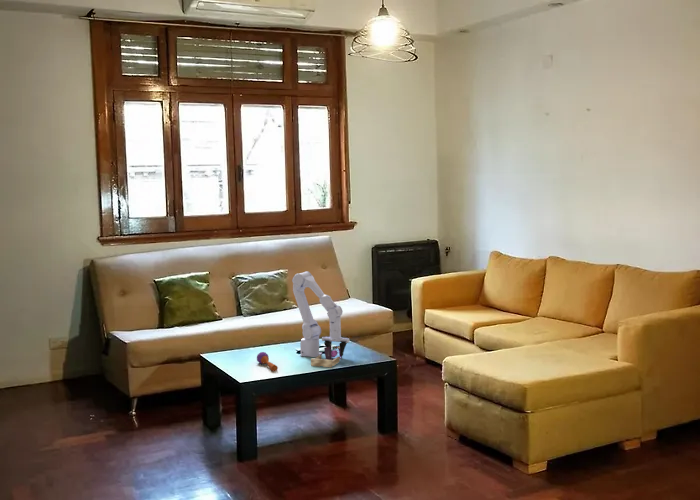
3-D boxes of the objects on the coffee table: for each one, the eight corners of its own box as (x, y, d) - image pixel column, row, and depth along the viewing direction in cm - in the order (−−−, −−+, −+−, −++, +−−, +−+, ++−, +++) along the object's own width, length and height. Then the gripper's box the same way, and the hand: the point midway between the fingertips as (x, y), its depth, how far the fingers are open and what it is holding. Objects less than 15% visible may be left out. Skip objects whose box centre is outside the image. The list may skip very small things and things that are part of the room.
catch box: (311, 365, 382) (310, 358, 382) (319, 359, 393) (319, 353, 392) (331, 367, 378) (331, 360, 378) (339, 361, 389) (339, 354, 388)
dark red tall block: (324, 347, 391) (341, 345, 395) (321, 348, 396) (337, 346, 400) (326, 360, 390) (342, 358, 394) (323, 361, 395) (339, 359, 398)
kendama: (267, 364, 371) (254, 352, 389) (269, 375, 373) (256, 363, 390) (279, 360, 373) (265, 349, 391) (281, 372, 375) (267, 359, 392)
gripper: (319, 330, 393) (319, 356, 395) (345, 332, 388) (346, 358, 390) (324, 327, 400) (325, 352, 401) (350, 329, 395) (350, 354, 396)
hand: (335, 355), depth 396 cm, fingers closed on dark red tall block, 6 cm apart
